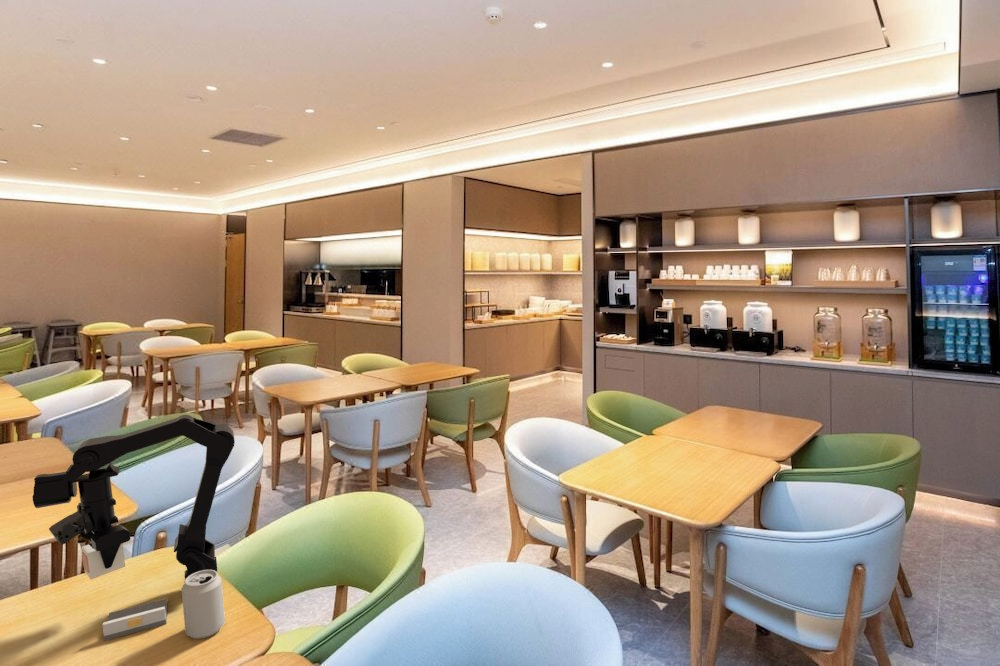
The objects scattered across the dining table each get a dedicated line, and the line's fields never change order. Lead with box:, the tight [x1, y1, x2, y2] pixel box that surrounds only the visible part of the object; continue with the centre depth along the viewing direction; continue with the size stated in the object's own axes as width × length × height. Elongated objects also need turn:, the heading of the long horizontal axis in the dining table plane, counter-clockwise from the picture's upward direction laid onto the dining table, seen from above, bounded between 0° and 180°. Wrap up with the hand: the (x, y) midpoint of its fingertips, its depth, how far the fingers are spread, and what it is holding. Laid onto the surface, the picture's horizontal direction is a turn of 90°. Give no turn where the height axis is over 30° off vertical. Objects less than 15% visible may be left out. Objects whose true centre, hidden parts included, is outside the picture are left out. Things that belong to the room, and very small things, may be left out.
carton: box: [81, 543, 126, 580], centre depth 126 cm, size 7×4×6 cm
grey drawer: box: [102, 598, 168, 642], centre depth 123 cm, size 11×9×4 cm
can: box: [181, 570, 226, 640], centre depth 119 cm, size 8×8×12 cm
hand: (104, 564), depth 126 cm, fingers closed on carton, 4 cm apart
